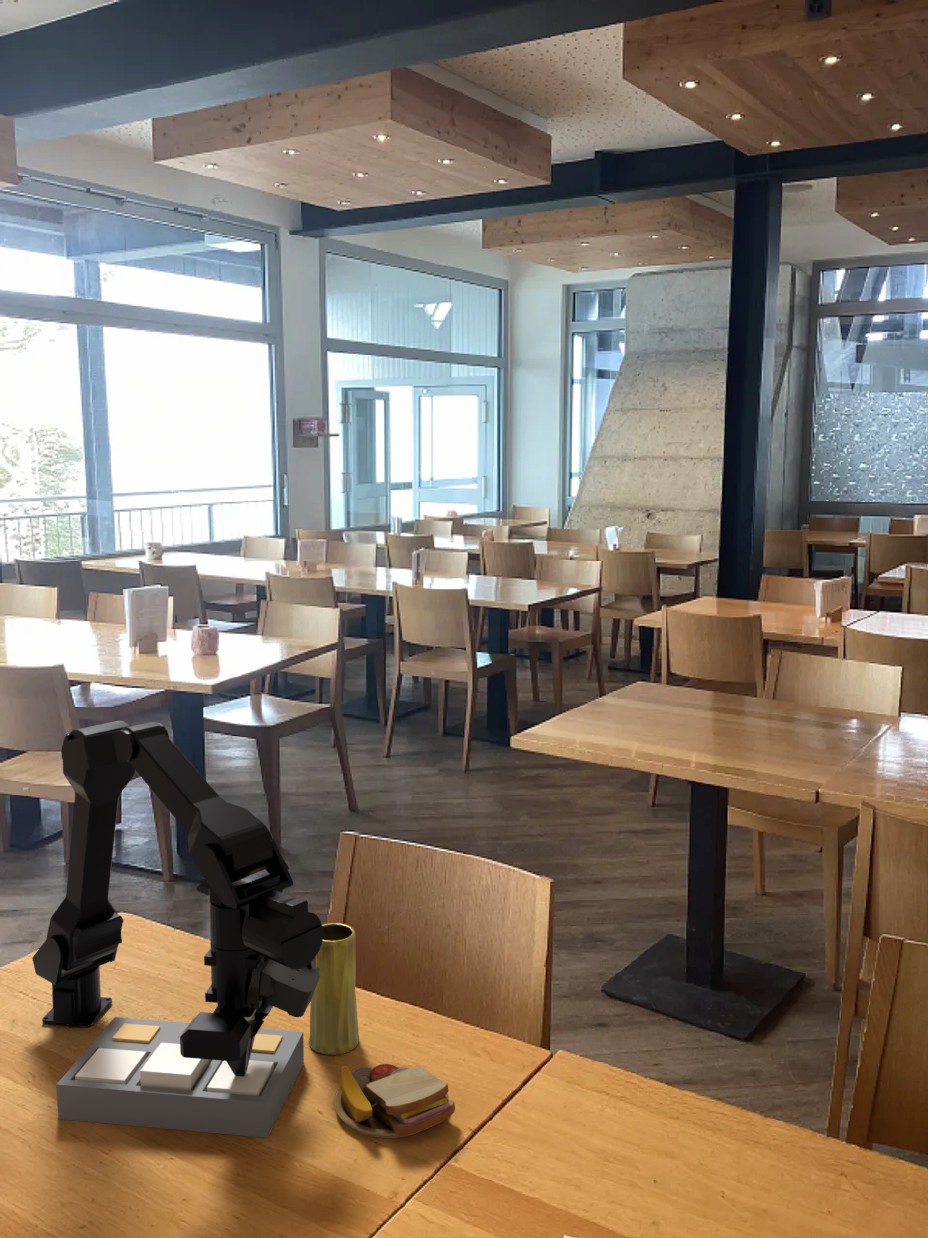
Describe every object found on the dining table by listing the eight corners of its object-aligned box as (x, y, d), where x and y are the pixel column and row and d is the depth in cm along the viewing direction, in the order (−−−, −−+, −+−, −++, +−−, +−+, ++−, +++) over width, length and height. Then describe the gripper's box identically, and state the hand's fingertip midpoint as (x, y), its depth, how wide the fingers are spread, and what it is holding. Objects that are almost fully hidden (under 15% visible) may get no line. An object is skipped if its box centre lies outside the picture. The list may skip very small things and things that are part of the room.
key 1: (99, 1068, 121) (98, 1048, 120) (146, 1072, 120) (146, 1051, 119) (76, 1097, 115) (75, 1076, 115) (125, 1101, 114) (124, 1080, 114)
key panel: (58, 1119, 114) (56, 1082, 113) (116, 1048, 128) (114, 1014, 127) (267, 1138, 111) (266, 1100, 111) (303, 1063, 125) (303, 1029, 124)
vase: (350, 1059, 126) (349, 945, 124) (301, 1052, 127) (299, 940, 125) (365, 1032, 132) (364, 923, 130) (318, 1026, 133) (317, 918, 131)
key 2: (225, 1079, 119) (225, 1058, 118) (274, 1083, 118) (273, 1062, 118) (207, 1109, 113) (206, 1087, 113) (258, 1113, 113) (257, 1091, 112)
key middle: (161, 1063, 119) (161, 1042, 119) (209, 1067, 119) (209, 1046, 118) (140, 1092, 114) (140, 1071, 114) (191, 1096, 113) (190, 1075, 113)
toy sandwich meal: (422, 1066, 125) (423, 1029, 125) (470, 1132, 113) (471, 1091, 112) (320, 1091, 120) (319, 1052, 119) (359, 1163, 108) (358, 1120, 107)
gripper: (286, 987, 103) (288, 1134, 105) (333, 907, 121) (334, 1034, 123) (175, 979, 104) (180, 1125, 107) (238, 901, 122) (241, 1027, 125)
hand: (240, 1074), depth 115 cm, fingers closed, pressing on key 2
